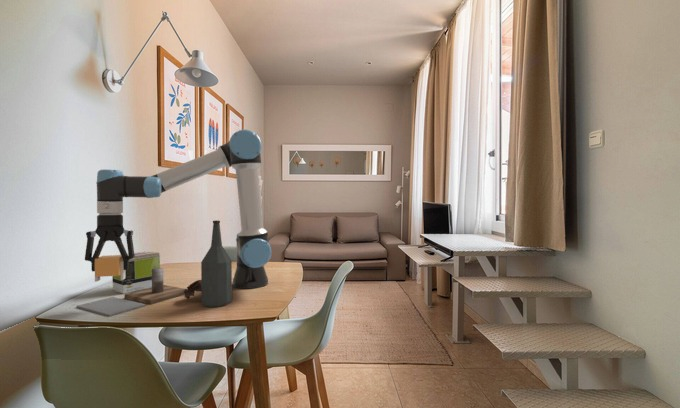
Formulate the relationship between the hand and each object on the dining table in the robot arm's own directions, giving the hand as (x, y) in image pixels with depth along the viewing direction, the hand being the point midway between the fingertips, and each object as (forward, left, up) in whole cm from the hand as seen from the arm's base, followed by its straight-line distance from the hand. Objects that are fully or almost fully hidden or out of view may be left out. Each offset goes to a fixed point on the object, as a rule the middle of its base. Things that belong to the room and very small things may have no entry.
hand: (110, 279), depth 118 cm
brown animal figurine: (-20, -21, -10) cm, 31 cm away
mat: (0, 0, -10) cm, 10 cm away
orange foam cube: (0, 0, +2) cm, 2 cm away
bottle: (-30, -20, -10) cm, 37 cm away
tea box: (+16, -19, -10) cm, 27 cm away
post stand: (-2, -16, -10) cm, 19 cm away
